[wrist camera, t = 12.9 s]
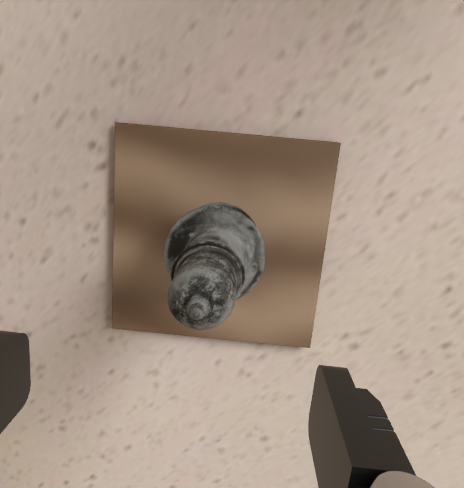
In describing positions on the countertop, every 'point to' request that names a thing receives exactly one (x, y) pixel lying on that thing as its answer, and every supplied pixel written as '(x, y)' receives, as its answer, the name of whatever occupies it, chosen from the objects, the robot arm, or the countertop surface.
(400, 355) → the countertop surface
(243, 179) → the walnut pad
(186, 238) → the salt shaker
